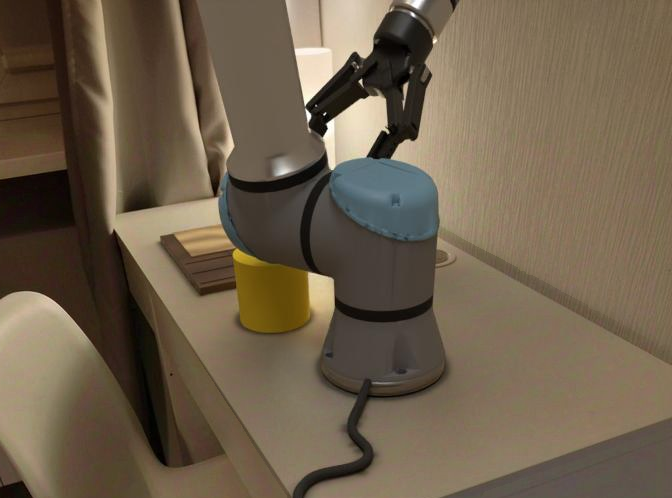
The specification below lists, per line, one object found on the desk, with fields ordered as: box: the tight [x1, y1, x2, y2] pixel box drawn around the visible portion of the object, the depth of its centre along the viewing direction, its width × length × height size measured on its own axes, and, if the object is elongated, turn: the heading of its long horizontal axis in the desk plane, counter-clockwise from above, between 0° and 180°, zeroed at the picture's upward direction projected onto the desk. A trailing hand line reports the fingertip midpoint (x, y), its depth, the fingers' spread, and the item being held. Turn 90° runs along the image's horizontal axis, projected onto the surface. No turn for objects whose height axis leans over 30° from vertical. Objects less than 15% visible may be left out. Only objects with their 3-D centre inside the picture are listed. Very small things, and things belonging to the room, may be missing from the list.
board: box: [159, 223, 237, 296], centre depth 122 cm, size 26×17×1 cm, turn 23°
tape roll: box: [233, 249, 311, 334], centre depth 100 cm, size 10×10×9 cm
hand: (328, 173), depth 98 cm, fingers open, 13 cm apart
